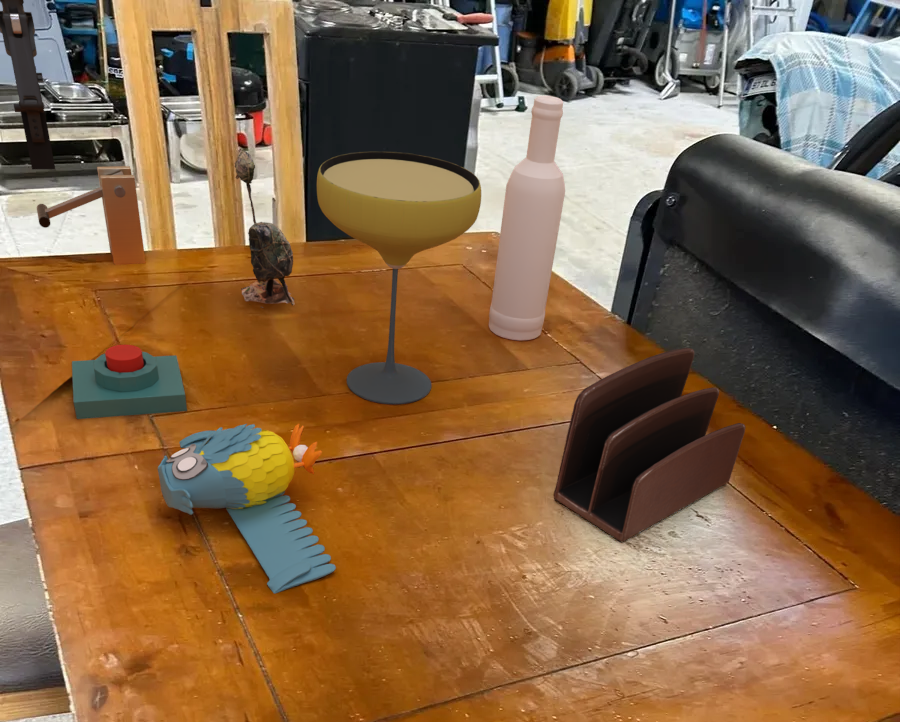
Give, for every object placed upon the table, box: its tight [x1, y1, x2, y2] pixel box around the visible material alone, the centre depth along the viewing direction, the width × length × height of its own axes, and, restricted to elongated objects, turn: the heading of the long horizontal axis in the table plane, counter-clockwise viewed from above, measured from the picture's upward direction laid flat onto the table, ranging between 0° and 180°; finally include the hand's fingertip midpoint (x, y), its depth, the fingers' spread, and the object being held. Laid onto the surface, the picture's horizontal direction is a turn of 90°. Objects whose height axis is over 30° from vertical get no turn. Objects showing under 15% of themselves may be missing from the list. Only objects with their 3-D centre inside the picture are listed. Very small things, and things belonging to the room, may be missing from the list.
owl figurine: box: [157, 423, 337, 594], centre depth 87 cm, size 28×9×15 cm
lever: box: [36, 171, 124, 229], centre depth 123 cm, size 13×6×2 cm, turn 112°
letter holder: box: [553, 347, 746, 543], centre depth 95 cm, size 10×20×14 cm, turn 132°
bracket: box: [96, 165, 146, 266], centre depth 127 cm, size 12×9×14 cm
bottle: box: [488, 94, 566, 342], centre depth 119 cm, size 8×8×30 cm
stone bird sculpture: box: [234, 150, 296, 309], centre depth 121 cm, size 8×11×20 cm
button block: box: [71, 351, 188, 420], centre depth 103 cm, size 12×10×4 cm
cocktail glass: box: [316, 151, 482, 405], centre depth 105 cm, size 18×18×25 cm
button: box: [104, 344, 144, 373], centre depth 102 cm, size 4×4×2 cm
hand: (41, 153), depth 116 cm, fingers open, 13 cm apart
